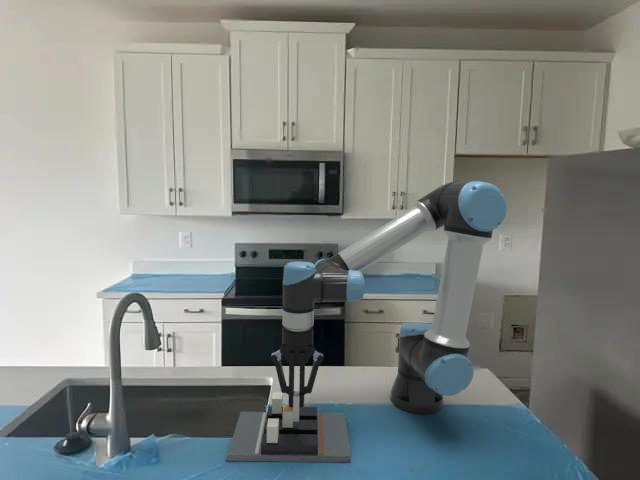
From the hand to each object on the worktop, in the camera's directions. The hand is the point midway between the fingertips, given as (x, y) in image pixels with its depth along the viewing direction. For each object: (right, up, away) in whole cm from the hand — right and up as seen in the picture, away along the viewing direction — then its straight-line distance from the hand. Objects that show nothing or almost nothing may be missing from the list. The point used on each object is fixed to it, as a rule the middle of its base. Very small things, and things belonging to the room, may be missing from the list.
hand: (296, 418), depth 109 cm
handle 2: (-5, -2, -6) cm, 8 cm away
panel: (-1, -5, +1) cm, 5 cm away
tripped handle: (-2, -1, 0) cm, 2 cm away
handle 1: (-5, 0, +7) cm, 8 cm away
